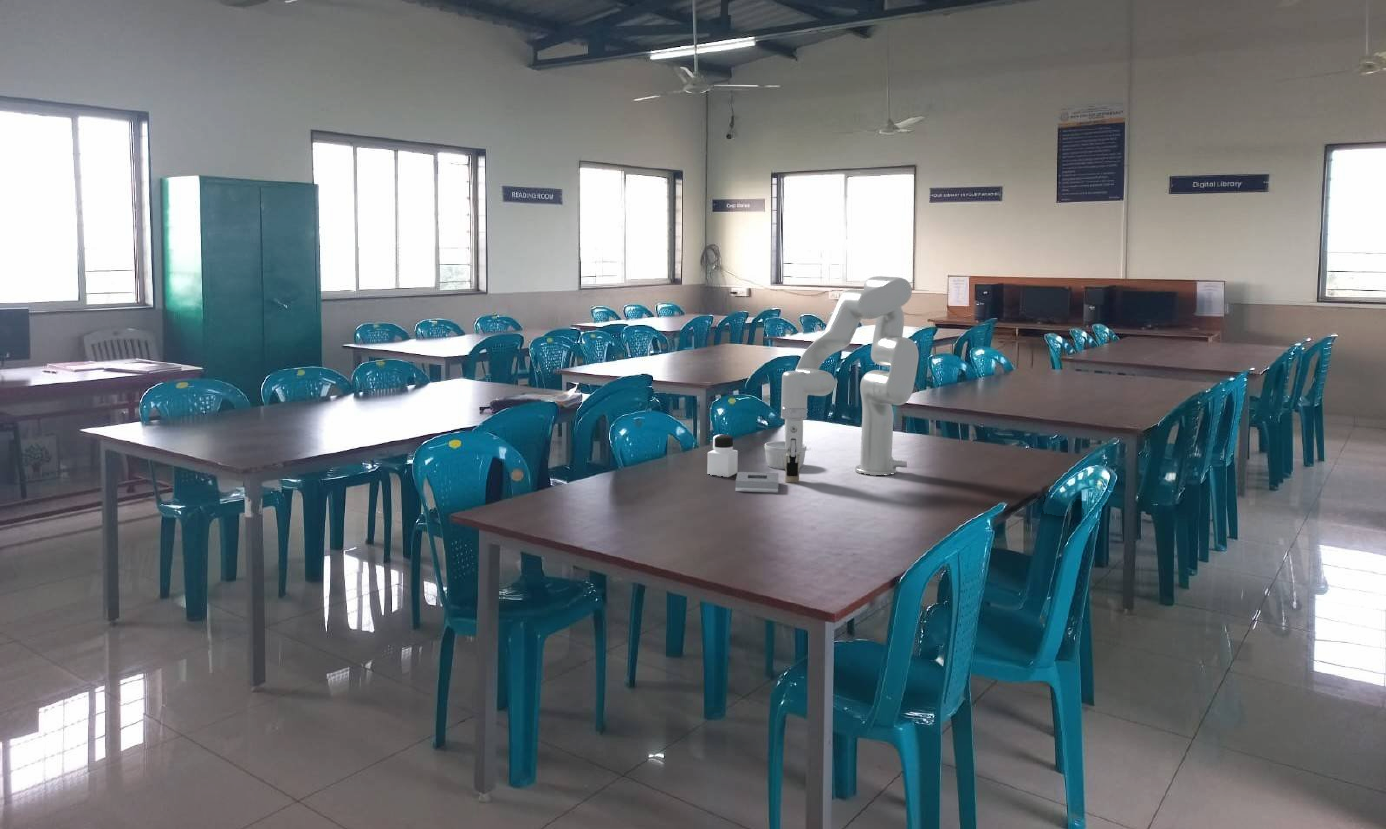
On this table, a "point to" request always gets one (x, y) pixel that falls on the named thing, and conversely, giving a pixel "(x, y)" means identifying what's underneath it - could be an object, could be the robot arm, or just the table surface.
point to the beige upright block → (792, 478)
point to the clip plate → (757, 482)
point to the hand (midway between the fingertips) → (792, 474)
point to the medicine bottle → (722, 457)
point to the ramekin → (780, 454)
